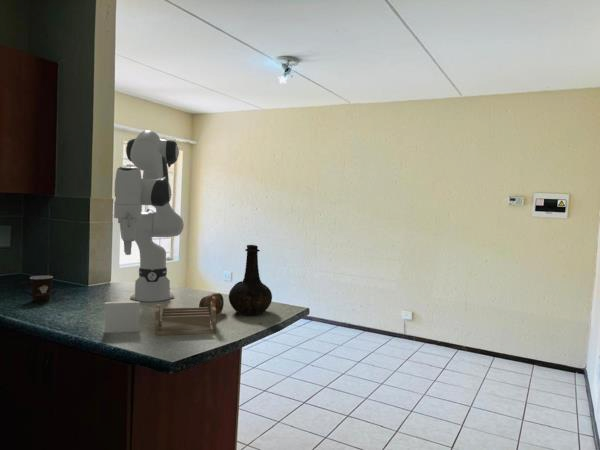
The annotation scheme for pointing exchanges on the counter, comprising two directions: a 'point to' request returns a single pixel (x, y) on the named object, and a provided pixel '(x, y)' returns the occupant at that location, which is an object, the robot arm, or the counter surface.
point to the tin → (208, 299)
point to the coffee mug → (40, 287)
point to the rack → (185, 320)
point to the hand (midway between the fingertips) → (127, 253)
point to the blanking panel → (122, 317)
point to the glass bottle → (250, 288)
